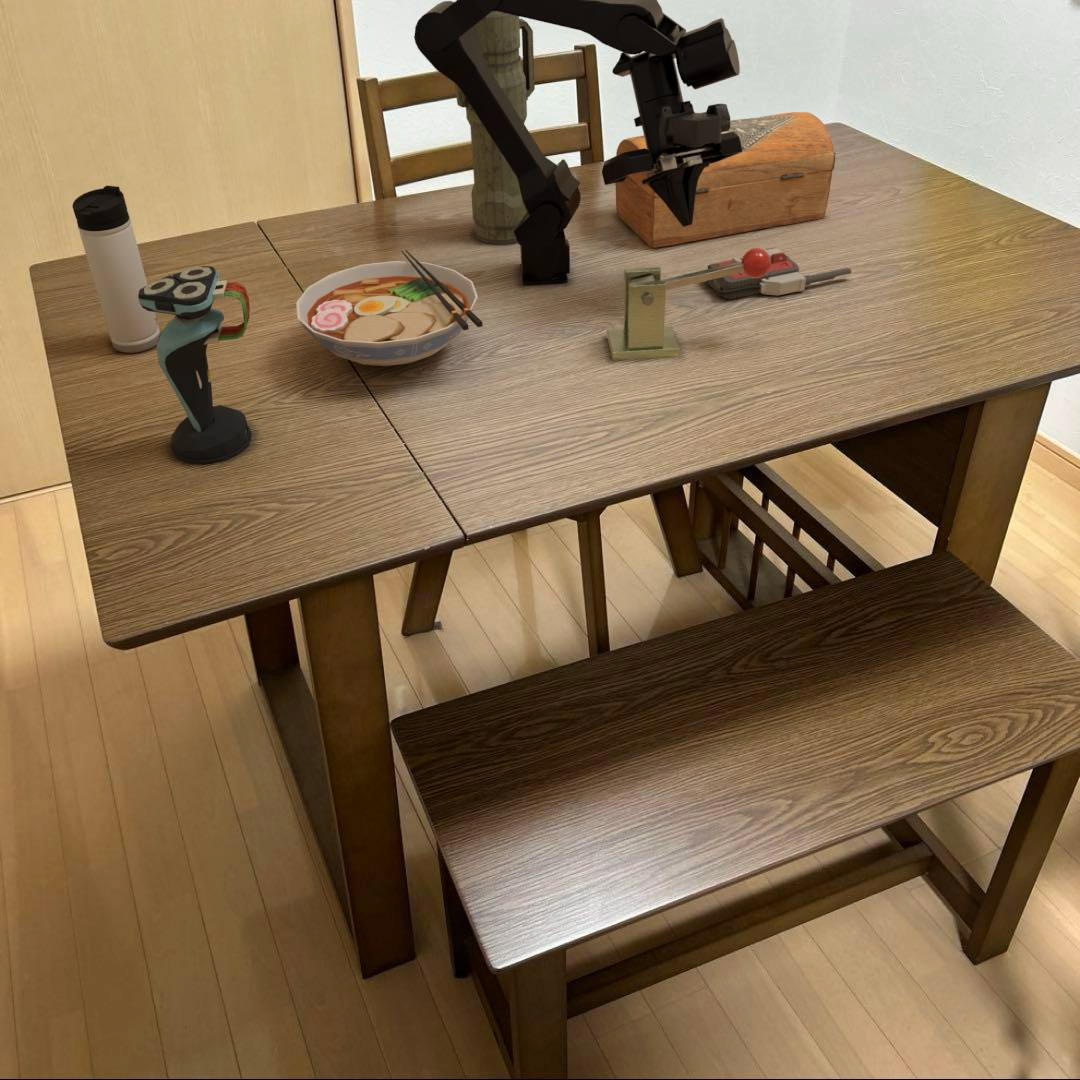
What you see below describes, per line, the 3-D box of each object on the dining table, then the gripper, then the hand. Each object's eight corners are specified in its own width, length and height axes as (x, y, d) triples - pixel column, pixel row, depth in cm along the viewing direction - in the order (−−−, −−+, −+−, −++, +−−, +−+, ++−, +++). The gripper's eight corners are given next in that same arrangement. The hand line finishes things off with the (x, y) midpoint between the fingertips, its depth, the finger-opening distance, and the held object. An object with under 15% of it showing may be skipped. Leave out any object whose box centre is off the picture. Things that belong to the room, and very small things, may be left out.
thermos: (551, 232, 174) (545, -15, 152) (486, 252, 169) (470, -1, 147) (519, 214, 180) (509, -26, 158) (455, 233, 175) (436, -13, 153)
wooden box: (778, 183, 187) (787, 97, 179) (829, 219, 175) (841, 129, 166) (610, 211, 180) (610, 123, 171) (651, 250, 168) (654, 158, 159)
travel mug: (172, 333, 151) (135, 187, 139) (143, 356, 146) (102, 207, 134) (133, 327, 153) (92, 182, 141) (103, 350, 148) (58, 202, 136)
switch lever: (768, 266, 141) (765, 240, 139) (775, 279, 138) (772, 252, 136) (633, 299, 142) (629, 273, 140) (637, 312, 139) (633, 285, 137)
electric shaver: (178, 423, 133) (136, 265, 121) (278, 416, 134) (247, 258, 121) (164, 467, 126) (118, 303, 114) (270, 459, 127) (236, 296, 114)
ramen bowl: (283, 329, 151) (273, 272, 146) (444, 295, 158) (439, 239, 153) (332, 418, 133) (322, 357, 128) (511, 375, 140) (508, 315, 135)
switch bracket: (671, 334, 147) (675, 264, 141) (679, 356, 142) (683, 285, 136) (606, 338, 147) (607, 268, 141) (612, 360, 142) (613, 289, 136)
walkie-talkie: (726, 309, 152) (853, 283, 157) (728, 279, 149) (858, 253, 155) (696, 283, 159) (820, 259, 164) (698, 254, 156) (823, 229, 161)
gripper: (636, 91, 131) (667, 226, 134) (757, 72, 139) (783, 199, 142) (586, 119, 141) (616, 244, 143) (702, 99, 149) (727, 217, 152)
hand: (687, 225), depth 145 cm, fingers closed
